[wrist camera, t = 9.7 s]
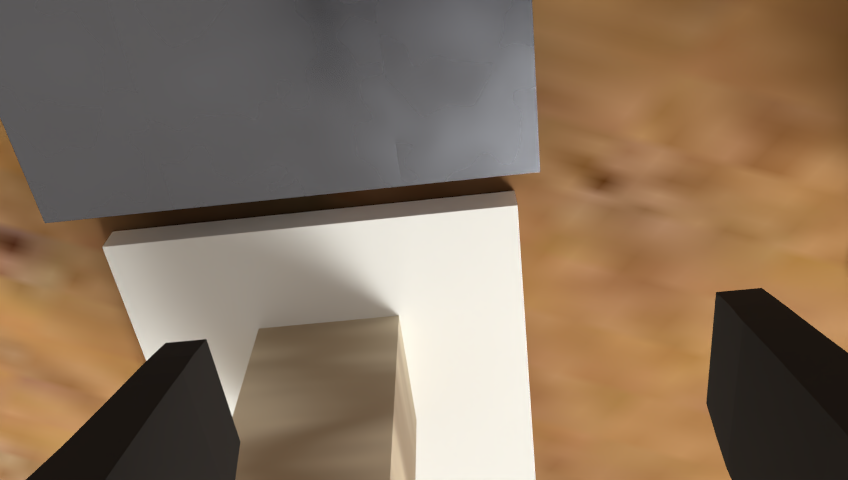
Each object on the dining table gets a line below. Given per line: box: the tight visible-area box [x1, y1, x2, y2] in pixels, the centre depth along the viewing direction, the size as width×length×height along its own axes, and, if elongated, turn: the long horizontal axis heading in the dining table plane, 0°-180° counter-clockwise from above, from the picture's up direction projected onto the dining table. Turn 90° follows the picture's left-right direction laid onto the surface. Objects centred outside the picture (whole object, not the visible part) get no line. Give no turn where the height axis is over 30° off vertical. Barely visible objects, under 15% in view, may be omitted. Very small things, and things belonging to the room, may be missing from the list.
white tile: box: [102, 191, 536, 480], centre depth 24 cm, size 11×11×1 cm
